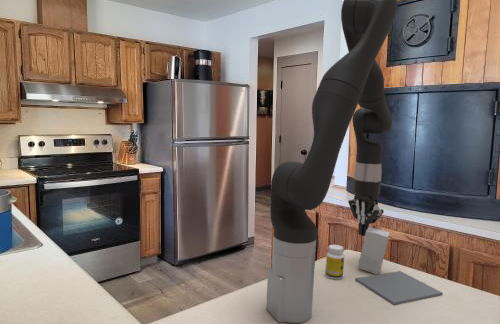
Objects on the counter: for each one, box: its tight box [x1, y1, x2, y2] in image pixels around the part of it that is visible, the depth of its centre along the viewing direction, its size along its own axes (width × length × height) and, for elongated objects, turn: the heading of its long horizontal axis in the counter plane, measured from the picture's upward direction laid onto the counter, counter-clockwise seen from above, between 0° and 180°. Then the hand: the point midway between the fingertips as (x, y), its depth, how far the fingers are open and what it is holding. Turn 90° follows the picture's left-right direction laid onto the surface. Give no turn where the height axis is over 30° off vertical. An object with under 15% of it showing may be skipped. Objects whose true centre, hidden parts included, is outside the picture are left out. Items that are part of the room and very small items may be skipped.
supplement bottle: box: [325, 244, 345, 280], centre depth 99 cm, size 5×5×8 cm
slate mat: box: [354, 270, 443, 306], centre depth 94 cm, size 16×14×1 cm
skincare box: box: [357, 225, 390, 275], centre depth 103 cm, size 6×4×12 cm
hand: (362, 235), depth 107 cm, fingers closed
